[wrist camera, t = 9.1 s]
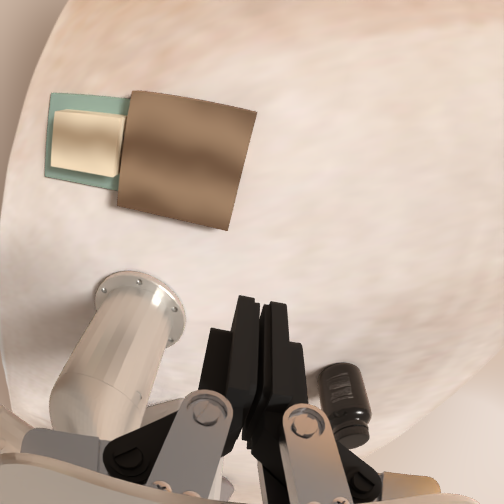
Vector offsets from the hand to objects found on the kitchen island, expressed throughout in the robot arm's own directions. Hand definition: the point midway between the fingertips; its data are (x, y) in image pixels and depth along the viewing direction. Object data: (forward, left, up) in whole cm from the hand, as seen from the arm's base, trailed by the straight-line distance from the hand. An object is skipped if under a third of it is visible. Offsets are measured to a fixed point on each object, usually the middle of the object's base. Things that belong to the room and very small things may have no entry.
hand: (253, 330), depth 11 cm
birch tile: (0, +18, -22) cm, 29 cm away
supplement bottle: (-26, -19, -23) cm, 40 cm away
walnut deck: (0, +8, -23) cm, 24 cm away
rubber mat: (0, +19, -23) cm, 30 cm away
